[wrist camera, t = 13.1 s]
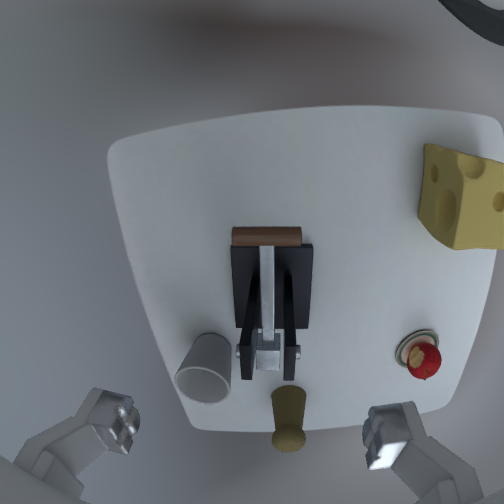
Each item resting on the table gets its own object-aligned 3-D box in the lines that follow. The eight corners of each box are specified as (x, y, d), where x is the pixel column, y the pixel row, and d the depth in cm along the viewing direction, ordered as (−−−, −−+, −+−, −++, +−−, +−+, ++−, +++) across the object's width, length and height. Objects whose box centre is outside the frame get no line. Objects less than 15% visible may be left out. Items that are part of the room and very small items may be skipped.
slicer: (231, 244, 38) (205, 308, 24) (312, 244, 37) (329, 309, 23) (237, 323, 42) (219, 402, 29) (307, 323, 42) (315, 404, 28)
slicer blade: (234, 221, 23) (229, 234, 21) (300, 221, 23) (302, 234, 21) (244, 352, 30) (241, 369, 28) (293, 352, 29) (294, 370, 27)
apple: (391, 369, 44) (401, 396, 38) (399, 332, 41) (413, 359, 35) (431, 361, 43) (444, 387, 37) (442, 325, 40) (459, 350, 34)
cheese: (422, 142, 31) (465, 149, 22) (484, 156, 30) (531, 168, 21) (413, 222, 35) (450, 252, 25) (474, 228, 34) (515, 255, 25)
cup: (237, 329, 43) (228, 369, 35) (239, 376, 47) (232, 416, 39) (186, 325, 43) (169, 363, 36) (193, 372, 47) (181, 410, 39)
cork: (279, 409, 49) (277, 459, 39) (265, 390, 48) (261, 442, 37) (310, 401, 48) (314, 452, 38) (299, 381, 46) (301, 434, 36)
